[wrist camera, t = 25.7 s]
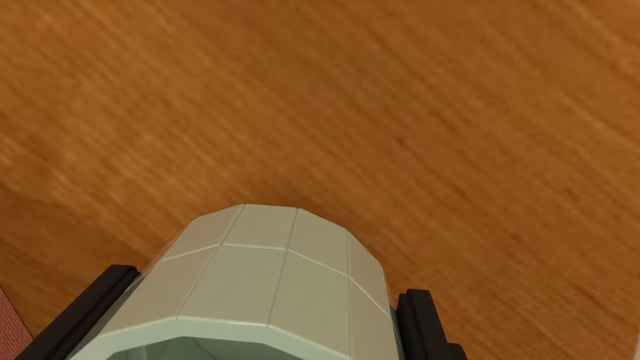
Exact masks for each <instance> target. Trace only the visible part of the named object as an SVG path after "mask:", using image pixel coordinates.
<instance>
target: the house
mask: <svg viewBox="0 0 640 360" xmlns="http://www.w3.org/2000/svg"><path fill="white" fill-rule="evenodd" d="M32 341H33V339H32V337H31V336H30V334H29V332H28V331H27V329H26V328H25V326H24V324H23V323H22V321H21V320H20V318H19V316H18V315H17V313H16V312H15V310H14V308H13V307H12V305H11V304H10V302H9V300H8V299H7V297H6V296H5V294H4V292H3V291H2V289H1V288H0V360H13V359H14V358H16V357H17V356H18V355H19V354H20V353H21V352H22V351H23V350H24V349H25V348H26V347H27V346H28V345H29V344H30V343H31V342H32Z"/></svg>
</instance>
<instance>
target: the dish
mask: <svg viewBox="0 0 640 360" xmlns="http://www.w3.org/2000/svg"><path fill="white" fill-rule="evenodd" d="M65 360H406V356H405V351H404V346H403V342H402V337H401V332H400V327H399V322H398V317H397V312H396V307H395V303H394V300H393V297H392V294H391V291H390V288H389V285H388V282H387V279H386V276H385V273H384V270H383V267H382V266H381V265H380V263H379V262H378V261H377V260H376V259H375V258H374V257H373V256H372V255H371V254H370V253H369V251H368V250H367V249H366V248H365V247H364V246H363V245H362V244H361V243H360V242H359V241H358V240H357V239H356V238H355V237H354V236H353V235H352V234H351V233H350V232H349V231H347V230H346V229H345V228H343V227H341V226H339V225H337V224H334V223H332V222H330V221H328V220H326V219H323V218H321V217H319V216H317V215H315V214H312V213H310V212H308V211H306V210H304V209H302V208H299V209H297V208H295V207H283V206H270V205H257V204H245V205H244V204H240V205H236V206H233V207H230V208H227V209H223V210H220V211H217V212H213V213H210V214H207V215H204V216H200V217H197V218H196V219H195V220H193V221H191V222H190V223H189V224H188V225H187V226H186V227H185V228H184V229H182V230H181V231H180V232H179V233H178V234H177V235H176V236H175V237H173V238H172V239H171V240H170V241H169V242H168V243H167V244H166V245H165V246H164V247H163V248H162V249H161V250H160V251H159V252H158V253H157V255H156V256H155V257H154V258H153V259H152V260H151V261H150V263H149V264H148V265H147V266H146V267H145V268H144V270H143V271H142V272H141V273H140V274H139V275H138V276H137V278H136V279H135V280H134V281H133V282H132V283H131V284H130V286H129V287H128V288H127V289H126V290H125V292H124V293H123V294H122V295H121V296H120V297H119V298H118V299H117V300H116V302H115V303H114V304H113V305H112V306H111V307H110V308H109V310H108V311H107V312H106V313H105V314H104V315H103V317H102V318H101V319H100V320H99V321H98V322H97V323H96V325H95V326H94V327H93V328H92V329H91V330H90V331H89V333H88V334H87V335H86V336H85V337H84V338H83V339H82V341H81V342H80V343H79V344H78V345H77V346H76V348H75V349H74V350H73V351H72V352H71V353H70V354H69V356H68V357H67V358H66V359H65Z"/></svg>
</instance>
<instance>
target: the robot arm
mask: <svg viewBox="0 0 640 360" xmlns="http://www.w3.org/2000/svg"><path fill="white" fill-rule="evenodd" d="M140 273H141V272H137V269H136V267H135V266H128V265H116V264H114V265H111V266H110V267H108V268H107V269H106V270H105V271H104V272H103V273H102V274H101V275H100V276H99V277H98V278H97V279H96V280H95V281H94V282H93V283H92V284H91V285H90V286H89V287H88V288H87V289H86V290H85V291H84V292H83V293H82V294H81V295H79V296H78V297H77V298H76V299H75V300H74V301H73V302H72V303H71V304H70V305H69V306H68V307H67V308H66V309H65V310H64V311H63V312H62V313H61V314H60V315H59V316H58V317H57V318H56V319H55V320H54V321H53V322H52V323H51V324H50V325H49V326H47V327H46V328H45V329H44V330H43V331H42V332H41V333H40V334H39V335H38V336H37V337H36V338H35V339H34V340H33V341H32V342H31V343H30V344H29V345H28V346H27V347H26V348H25V349H24V350H23V351H22V352H21V353H20V354H19V355H18V356H17V357H16V358H14V359H13V360H65V359H66V358H67V357H68V356H69V354H70V353H71V352H72V351H73V350H74V349H75V348H76V346H77V345H78V344H79V343H80V342H81V341H82V339H83V338H84V337H85V336H86V335H87V334H88V333H89V331H90V330H91V329H92V328H93V327H94V326H95V325H96V323H97V322H98V321H99V320H100V319H101V318H102V317H103V315H104V314H105V313H106V312H107V311H108V310H109V308H110V307H111V306H112V305H113V304H114V303H115V302H116V300H117V299H118V298H119V297H120V296H121V295H122V294H123V293H124V292H125V290H126V289H127V288H128V287H129V286H130V284H131V283H132V282H133V281H134V280H135V279H136V278H137V276H138V275H139V274H140ZM396 312H397V317H398V322H399V327H400V332H401V337H402V342H403V346H404V351H405V356H406V360H467V357H466V355H465V352H464V350H463V348H462V347H461V346H460V345H459V344H454V343H447V340H446V337H445V334H444V331H443V328H442V326H441V323H440V320H439V317H438V314H437V311H436V308H435V306H434V303H433V300H432V297H431V294H430V292H429V291H428V290H418V289H407V291H406V294H400V295H399V300H398V306H397V311H396Z"/></svg>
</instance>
